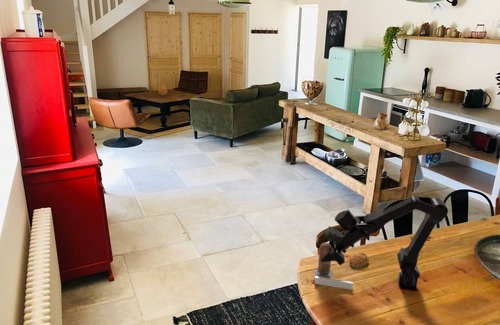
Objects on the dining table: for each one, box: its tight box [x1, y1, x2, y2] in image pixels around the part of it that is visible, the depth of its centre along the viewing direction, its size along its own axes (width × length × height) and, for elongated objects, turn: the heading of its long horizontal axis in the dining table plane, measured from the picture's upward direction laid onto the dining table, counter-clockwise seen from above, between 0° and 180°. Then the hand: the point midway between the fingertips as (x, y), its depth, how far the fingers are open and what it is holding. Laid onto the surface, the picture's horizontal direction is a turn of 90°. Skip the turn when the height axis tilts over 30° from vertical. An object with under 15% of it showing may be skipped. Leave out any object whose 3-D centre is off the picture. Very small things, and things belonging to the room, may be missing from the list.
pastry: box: [349, 252, 370, 268], centre depth 179 cm, size 9×7×4 cm
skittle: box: [317, 242, 332, 275], centre depth 167 cm, size 5×5×14 cm
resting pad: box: [313, 267, 333, 280], centre depth 170 cm, size 7×7×1 cm
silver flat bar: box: [314, 275, 354, 291], centre depth 163 cm, size 15×1×3 cm, turn 76°
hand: (321, 257), depth 168 cm, fingers closed on skittle, 5 cm apart
